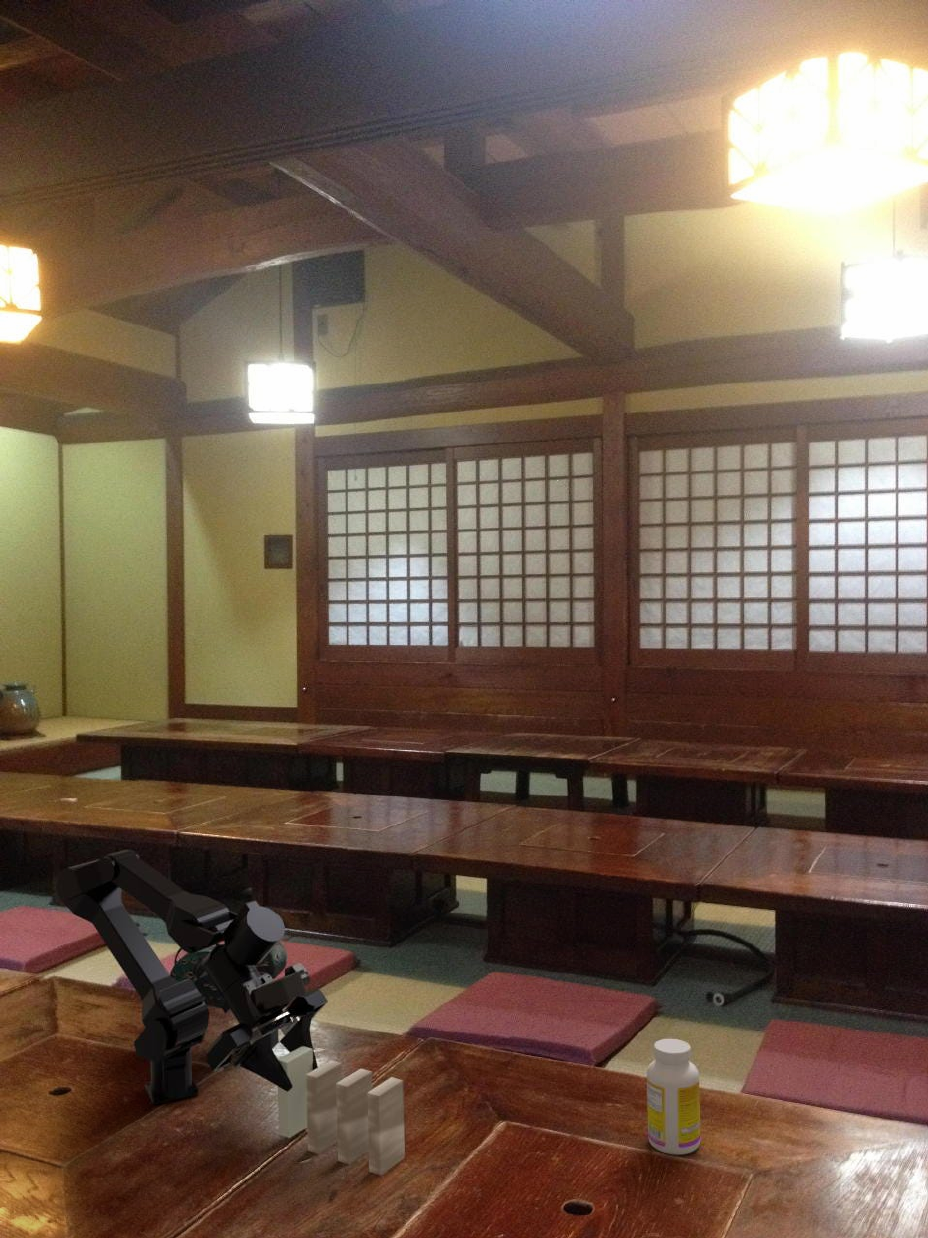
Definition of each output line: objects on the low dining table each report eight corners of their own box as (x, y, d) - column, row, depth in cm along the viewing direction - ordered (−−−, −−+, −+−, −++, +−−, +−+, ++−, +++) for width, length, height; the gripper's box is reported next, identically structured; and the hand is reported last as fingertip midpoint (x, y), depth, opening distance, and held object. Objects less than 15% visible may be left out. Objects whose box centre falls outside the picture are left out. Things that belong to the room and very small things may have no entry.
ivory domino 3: (369, 1172, 139) (367, 1092, 138) (393, 1154, 143) (391, 1077, 143) (380, 1176, 138) (378, 1096, 137) (404, 1158, 142) (403, 1080, 142)
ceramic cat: (291, 1041, 179) (288, 917, 178) (275, 1058, 173) (272, 929, 172) (177, 1031, 184) (174, 911, 183) (158, 1048, 177) (154, 923, 176)
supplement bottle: (703, 1135, 146) (702, 1038, 146) (697, 1160, 140) (695, 1059, 139) (652, 1128, 148) (651, 1032, 148) (643, 1152, 142) (642, 1053, 142)
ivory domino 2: (338, 1161, 142) (336, 1083, 141) (362, 1144, 146) (360, 1068, 145) (349, 1165, 141) (347, 1086, 140) (373, 1147, 145) (371, 1071, 144)
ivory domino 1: (308, 1150, 144) (306, 1074, 144) (333, 1134, 148) (331, 1060, 148) (318, 1154, 143) (316, 1077, 143) (343, 1137, 147) (341, 1063, 147)
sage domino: (279, 1134, 147) (276, 1059, 147) (304, 1119, 151) (302, 1046, 151) (289, 1138, 146) (287, 1063, 146) (314, 1122, 150) (312, 1049, 150)
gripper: (219, 971, 142) (286, 1076, 136) (316, 931, 158) (379, 1024, 152) (178, 1020, 147) (241, 1123, 141) (275, 976, 162) (336, 1068, 157)
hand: (303, 1082), depth 148 cm, fingers closed on sage domino, 5 cm apart
